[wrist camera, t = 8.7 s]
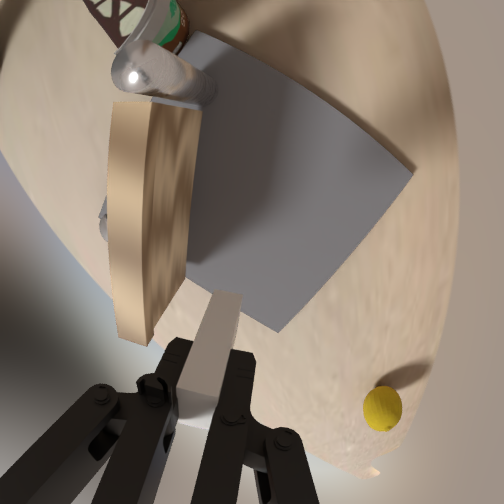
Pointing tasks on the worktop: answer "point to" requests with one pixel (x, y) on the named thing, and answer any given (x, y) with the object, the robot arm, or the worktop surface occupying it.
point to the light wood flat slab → (148, 209)
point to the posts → (159, 80)
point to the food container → (142, 22)
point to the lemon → (382, 408)
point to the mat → (276, 185)
